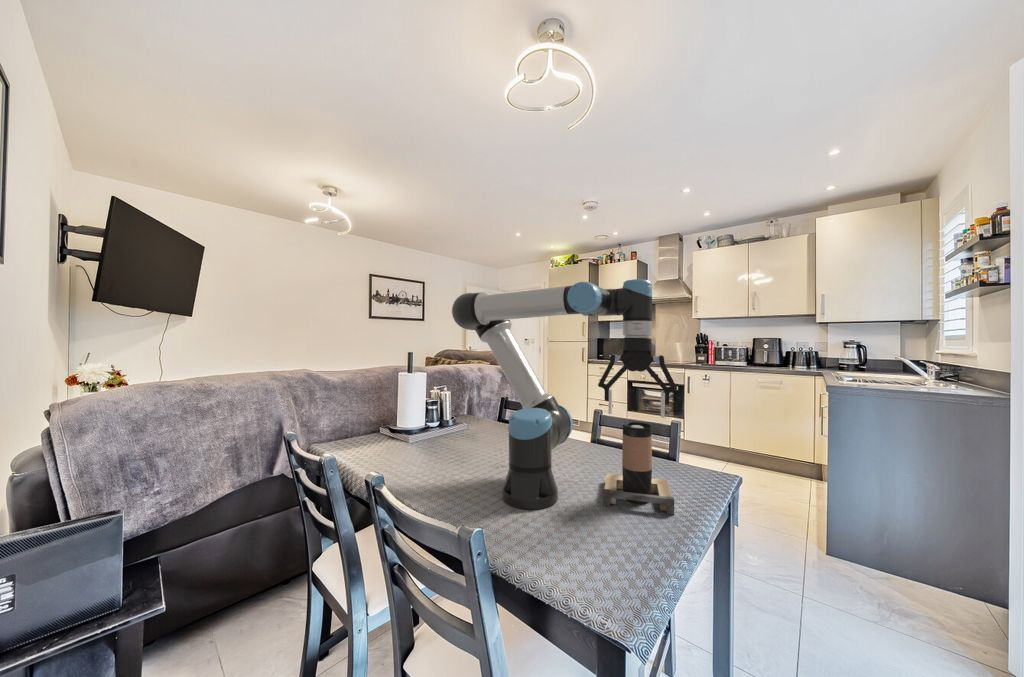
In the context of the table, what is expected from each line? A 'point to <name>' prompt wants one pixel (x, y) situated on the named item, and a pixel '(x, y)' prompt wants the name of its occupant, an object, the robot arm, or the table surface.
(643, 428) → the travel mug
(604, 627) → the table surface
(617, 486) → the wooden arch frame
